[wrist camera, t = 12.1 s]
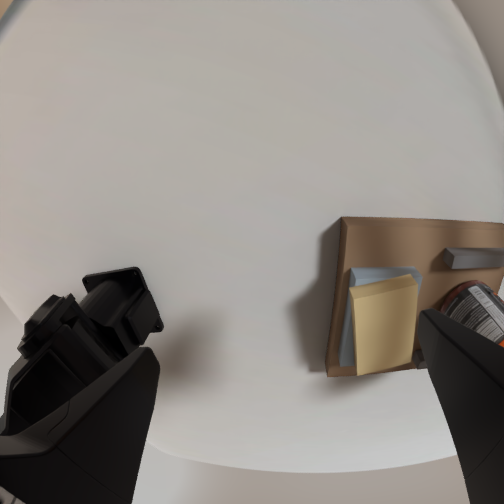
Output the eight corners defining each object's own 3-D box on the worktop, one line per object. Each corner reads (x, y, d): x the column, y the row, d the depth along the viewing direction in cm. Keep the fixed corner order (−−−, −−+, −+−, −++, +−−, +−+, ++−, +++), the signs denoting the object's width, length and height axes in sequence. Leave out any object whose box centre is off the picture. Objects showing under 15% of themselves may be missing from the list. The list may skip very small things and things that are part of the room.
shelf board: (325, 361, 26) (330, 402, 21) (341, 216, 20) (359, 244, 16) (462, 346, 25) (481, 377, 20) (502, 223, 19) (536, 245, 14)
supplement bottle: (493, 303, 20) (556, 385, 10) (447, 344, 22) (496, 438, 12) (477, 262, 19) (559, 350, 8) (424, 309, 21) (485, 417, 10)
